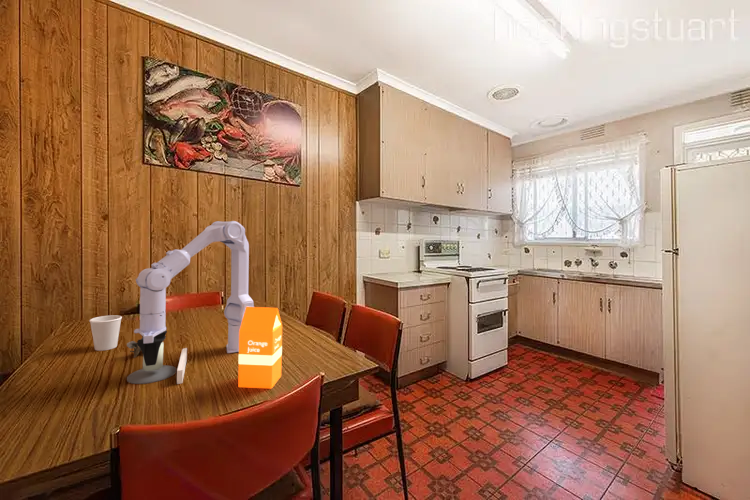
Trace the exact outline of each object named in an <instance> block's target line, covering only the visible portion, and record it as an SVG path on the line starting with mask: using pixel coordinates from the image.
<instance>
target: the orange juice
mask: <svg viewBox="0 0 750 500" xmlns="http://www.w3.org/2000/svg"><path fill="white" fill-rule="evenodd" d="M282 354H283V323H282V319H281V316H280V311H279V308H278V307H262V306H254V307H246V309H245V313H244V316H243V320H242V323H241V327H240V330H239V352H238V382H237V383H238V387H237V388H250V389H251V388H252V389H272V388H273V387H275V385H276V383H277V382H278V381H279V379H281V377H282V363H283V361H282V359H283V357H282Z"/></svg>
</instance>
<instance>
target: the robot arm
mask: <svg viewBox="0 0 750 500" xmlns="http://www.w3.org/2000/svg"><path fill="white" fill-rule="evenodd" d="M217 242H220V243H223V244H224V245H225V246H226V247H228V248H229V249H230V251H231V261H230V263H231V264H230V266H231V267H230V269H231V271H230V273H231V276H230V283H231V286H230V296H229V297H228V298H227V300H226V306H225V308H224V311H223V315H224V317H225V318H226V319H227V323H228V328H227V329H228V334H227V336H228V337H227V344H226V345H225V346H226V348H225V349H226V353H227V354H232V353H233V354H234V353H239V330H240V327H241V323H242V320H243V316H244V313H245V309H246V307H255V304H254V303H255V302H254V300H253V299H252V297H251V296H250V295H249V279H250V278H249V275H250V274H249V271H250V270H249V269H250V267H249V266H250V265H249V264H250V260H249V259H250V257H249V256H250V244H249V241H248V239H247V236H246V228H245V227H244V225H242V224H241V223H240V222H238V221H235V220H231V221H218V220H217V221H214V222H212V223H211V225H208V226H206V227H205V228H204V230H203V231H202V232H200V233H199V234H198V235H197V236H195V237H194V238H193V239H192V240H191V241H190V242H188V243H187V244H186V245H185V246H184V247H183V248H181V249H176V248H175V249H173V250H168V251H167V252H165V254H166V255H165V256H164V257H162V258H161V259H160V260H159V261H157V262H152V264H151V267H148V268H145V269H143V270H141V271H140V272H139V273H138V276H137V278H135V283H136V285H137V286H138V287H139V288H140V297H139V328H135V329H134V330H133V333H134V334H140V335H141V338H140V339H137V341H136V343H137V345H138V346H139V347H140V349H141V351H140V352H141V353H142V356H143V357H144V361H145V364H146V366H150V365H155V364H156V362H157V357H158V352H159V348H160V345H161V343H162V342H164V341H165V339H164V336H166V335H167V332H168V331H167V326H166V315H167V314H166V311H167V310H166V307H167V306H166V305H167V303H166V302H167V301H166V300H167V298H166V297H167V293H166V292H167V289H166V288H167V287H169V286H170V284H171V280H172V279H173V278H174V277H175V276H177V275H178V274H179V273H181V271H182V270H184V269H186V267H188V266H190V263H191V258H192V257H194V256H195V255H197V254H198V253H199V252H200V251H202V250H203V249H205V248H207V247H208V246H209V245H210V244H212V243H217ZM142 337H143V339H142ZM163 340H164V341H163ZM143 357H142V358H143Z"/></svg>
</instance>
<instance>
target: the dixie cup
mask: <svg viewBox="0 0 750 500" xmlns="http://www.w3.org/2000/svg"><path fill="white" fill-rule="evenodd" d="M122 318H123V316H121V315H113V314H112V315H111V314H109V315H101V316H97V317H93V318H90V319H89V322H90V329H91V333H92V340H93V345H94V346H93V347H94V350H95V351H97V352H99V351H100V352H101V351H107V350H108V351H109V350H112V349H115V348H117V346H118V341H119V334H120V329H121V321H122Z"/></svg>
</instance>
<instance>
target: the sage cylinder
mask: <svg viewBox="0 0 750 500" xmlns="http://www.w3.org/2000/svg"><path fill="white" fill-rule="evenodd" d="M164 344H165V343H164V341H162V343H161V345H160V348H159V352H158V357H157V362H156V364H155V365H150V366H146V364H145V361H144V357H142V369H143V370H144V371H153V370H157V369H160V368H162V367H163V365H164V364H163V363H164Z"/></svg>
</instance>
